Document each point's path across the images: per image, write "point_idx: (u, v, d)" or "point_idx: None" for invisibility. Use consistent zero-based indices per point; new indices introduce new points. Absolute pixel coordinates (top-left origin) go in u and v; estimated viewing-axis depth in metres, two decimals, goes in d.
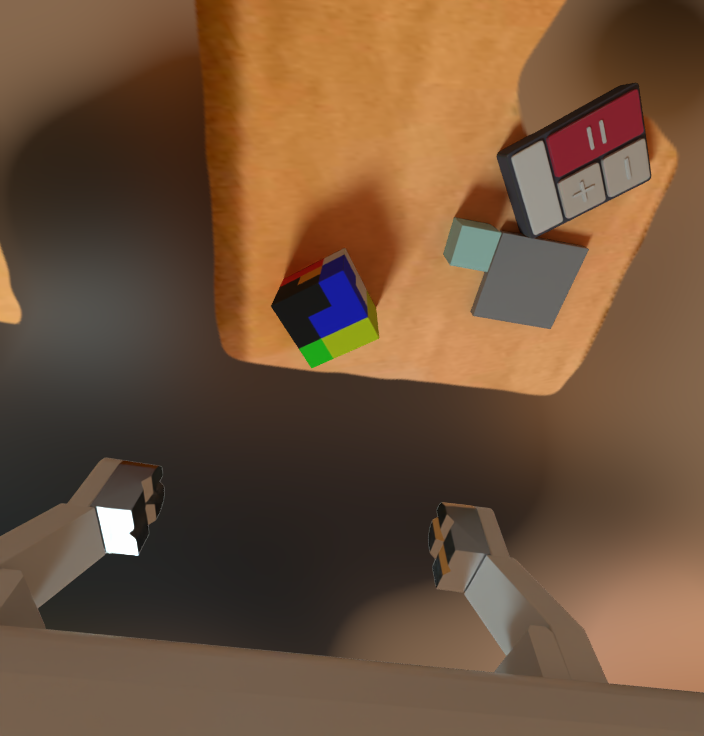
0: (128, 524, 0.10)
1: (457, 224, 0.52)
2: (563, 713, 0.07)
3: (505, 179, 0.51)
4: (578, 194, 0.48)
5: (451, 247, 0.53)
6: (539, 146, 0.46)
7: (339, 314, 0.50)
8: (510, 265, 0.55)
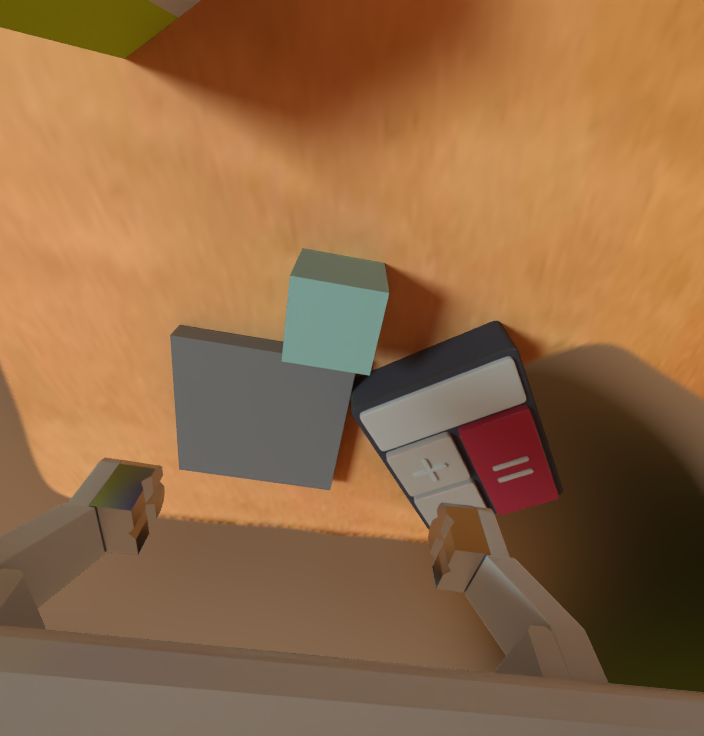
0: (129, 524, 0.10)
1: (379, 275, 0.22)
2: (563, 713, 0.07)
3: (453, 342, 0.27)
4: (426, 465, 0.28)
5: (328, 270, 0.22)
6: (518, 398, 0.25)
7: None
8: (292, 387, 0.28)
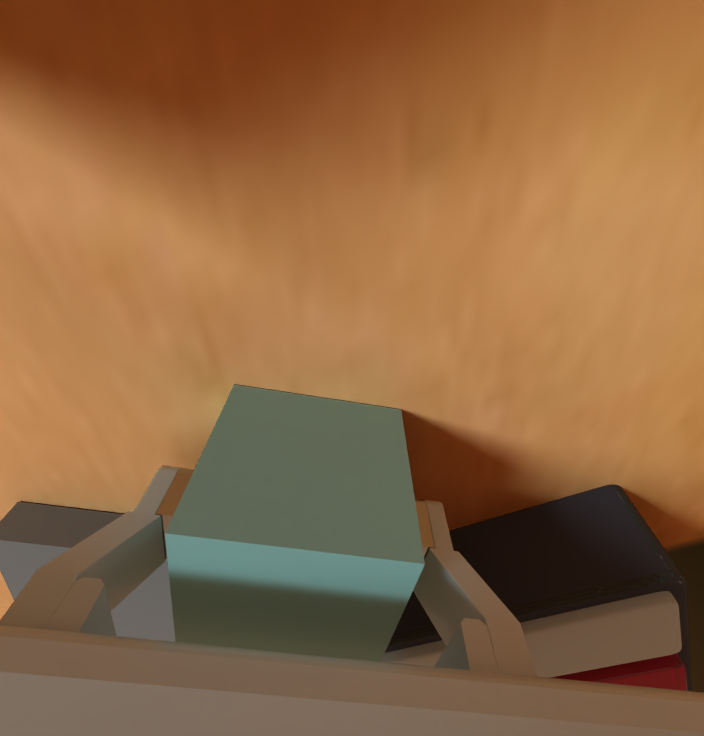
0: None
1: (393, 470, 0.10)
2: (563, 713, 0.07)
3: (531, 522, 0.14)
4: None
5: (277, 473, 0.09)
6: (666, 650, 0.13)
7: None
8: None
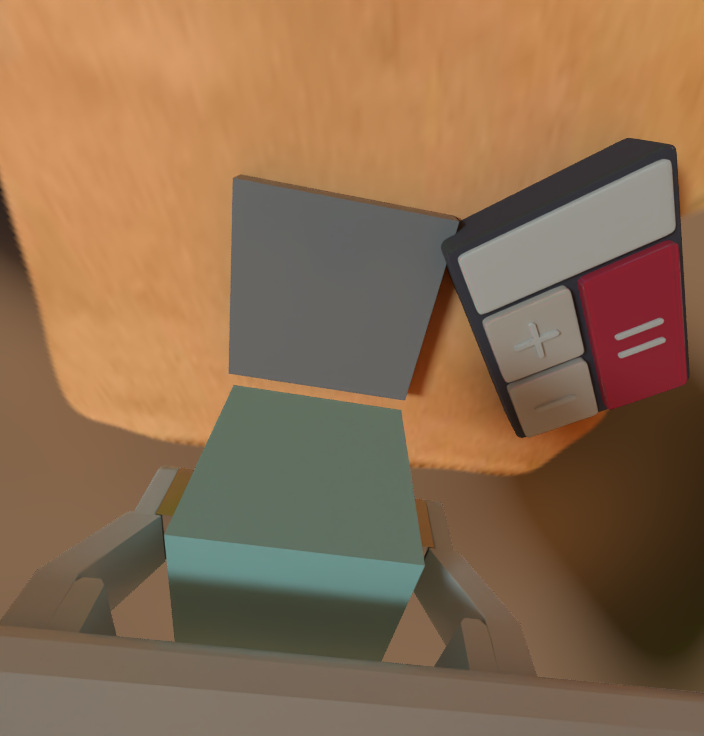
0: None
1: (393, 471, 0.10)
2: (563, 713, 0.07)
3: (574, 167, 0.21)
4: (534, 332, 0.23)
5: (277, 474, 0.09)
6: (665, 226, 0.20)
7: None
8: (376, 255, 0.23)
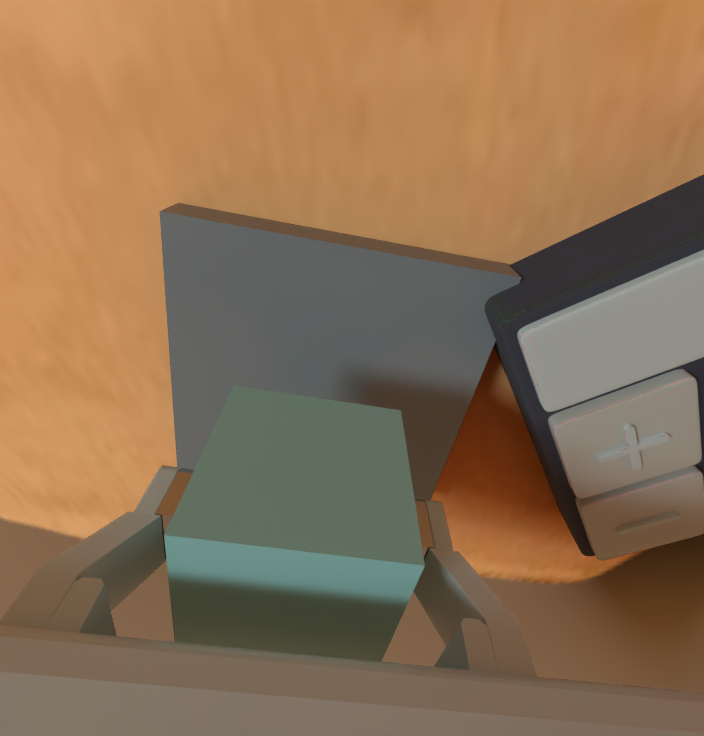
0: None
1: (393, 471, 0.10)
2: (563, 713, 0.07)
3: None
4: (632, 438, 0.14)
5: (277, 474, 0.09)
6: None
7: None
8: (390, 325, 0.15)
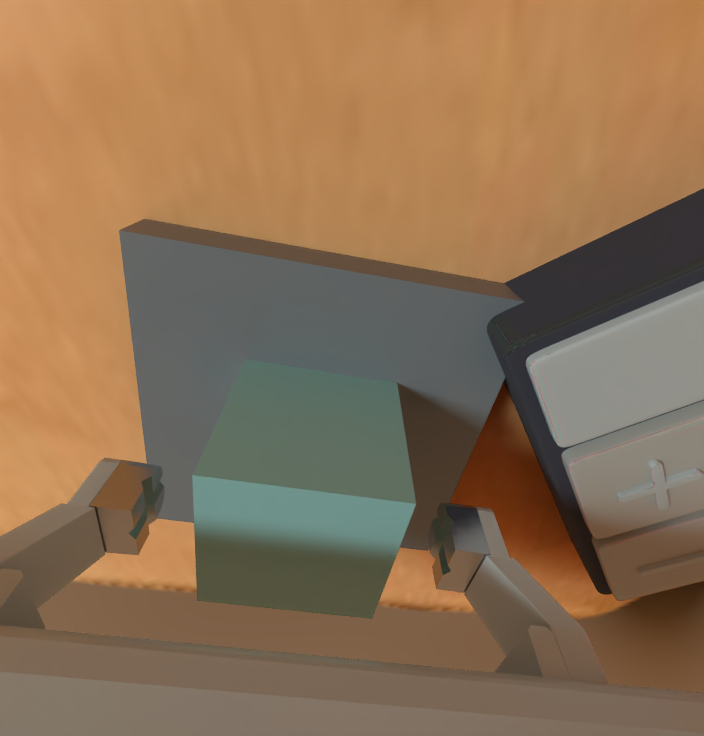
0: (129, 524, 0.10)
1: (389, 431, 0.11)
2: (563, 713, 0.07)
3: None
4: (659, 476, 0.13)
5: (287, 431, 0.10)
6: None
7: None
8: (388, 357, 0.13)
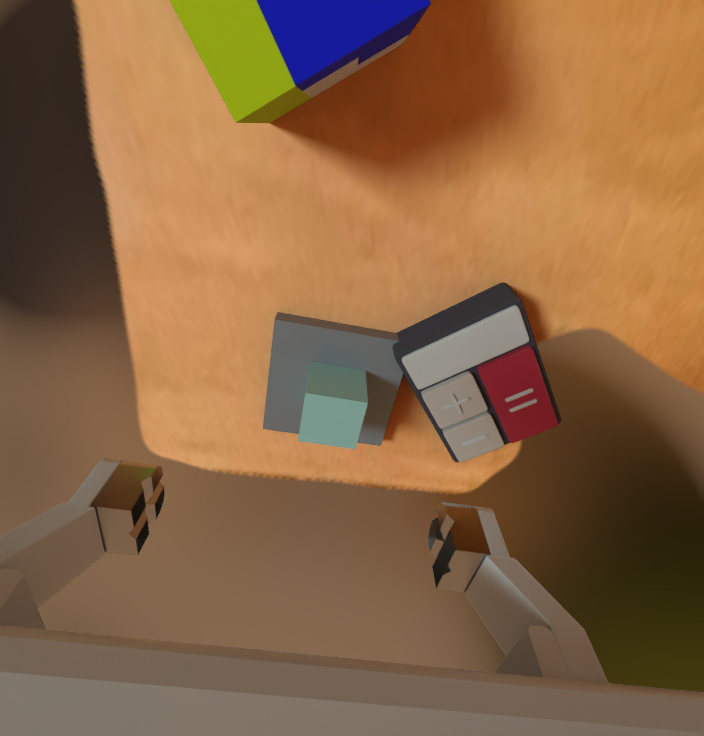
0: (129, 524, 0.10)
1: (361, 385, 0.34)
2: (563, 713, 0.07)
3: (471, 300, 0.34)
4: (453, 399, 0.36)
5: (329, 384, 0.34)
6: (523, 339, 0.33)
7: None
8: (362, 361, 0.36)
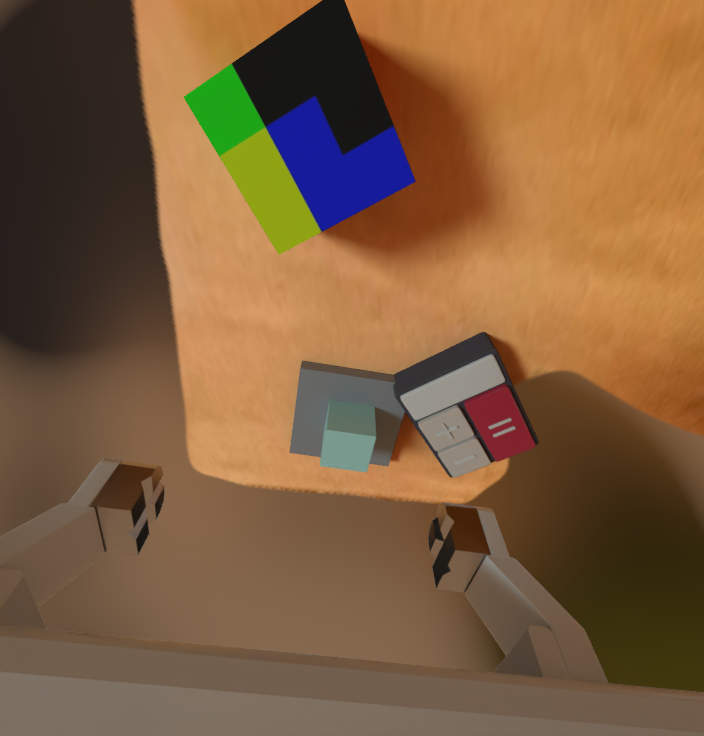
0: (129, 524, 0.10)
1: (371, 420, 0.42)
2: (563, 713, 0.07)
3: (457, 347, 0.42)
4: (445, 428, 0.43)
5: (345, 420, 0.41)
6: (499, 380, 0.40)
7: (324, 173, 0.25)
8: (371, 399, 0.44)
